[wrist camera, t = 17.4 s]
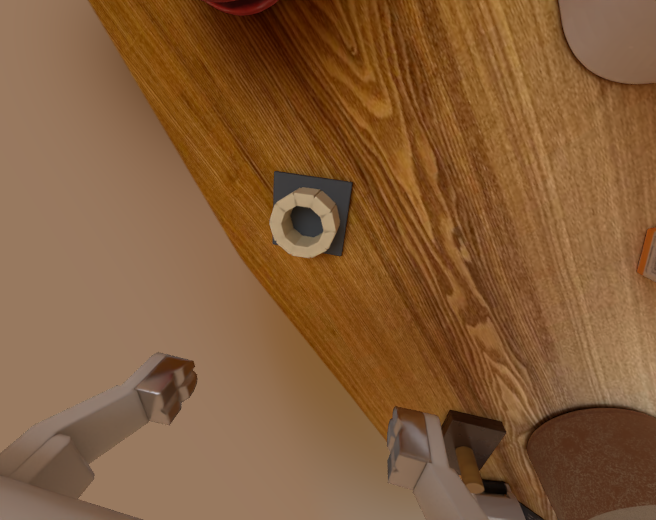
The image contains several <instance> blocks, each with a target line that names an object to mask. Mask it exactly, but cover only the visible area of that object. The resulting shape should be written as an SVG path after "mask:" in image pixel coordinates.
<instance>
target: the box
mask: <svg viewBox="0 0 656 520" xmlns="http://www.w3.org/2000/svg"><path fill="white" fill-rule="evenodd" d="M519 504H520V507H521V509H522V511H523V514H524V516H525V519H526V520H543V519H542V518H540V517H539V516H537V515H536V514H535V513H533V512H532V511H530V510H529V509H528V508H526V507H525V506H523V505H522V504H521V503H519Z"/></svg>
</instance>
